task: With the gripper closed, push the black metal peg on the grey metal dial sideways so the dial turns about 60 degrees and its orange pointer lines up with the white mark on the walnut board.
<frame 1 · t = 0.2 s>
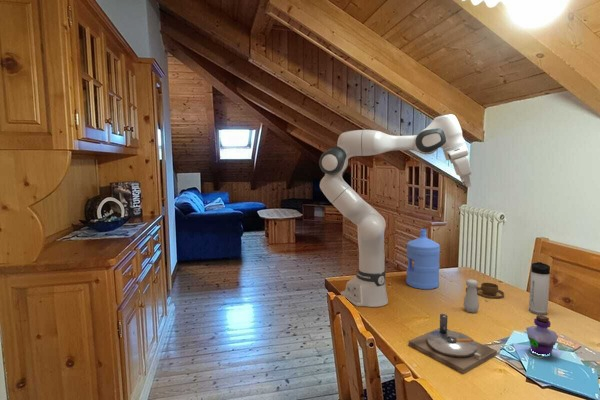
hand: (467, 185, 142), 52 cm above the table, tool tilted 20°, fingers open, 8 cm apart
water jug: (422, 284, 179), on the table
stand: (451, 349, 117), on the table
salt shaker: (470, 311, 147), on the table
potion bottle: (540, 353, 115), on the table
brown cup and saucer: (480, 295, 165), on the table
dial: (451, 334, 116), point 5 cm above the table, hinge at 60.0°
travel mug: (537, 312, 145), on the table
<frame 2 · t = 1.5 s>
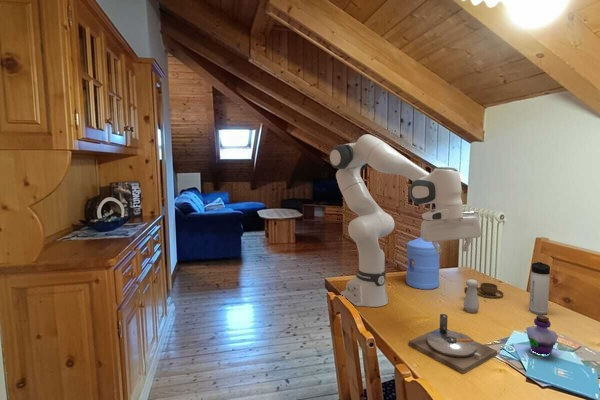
hand: (452, 252, 125), 30 cm above the table, tool pointing down, fingers open, 8 cm apart
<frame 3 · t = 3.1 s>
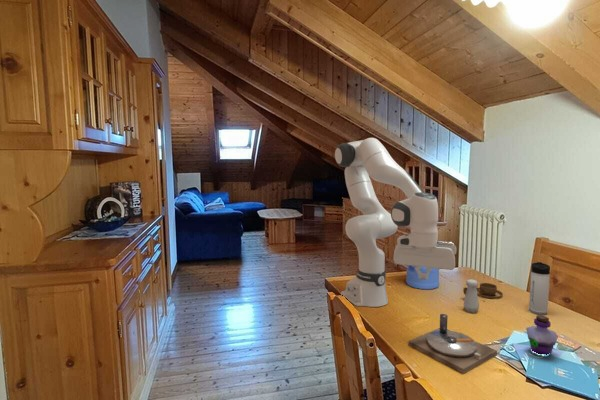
hand: (423, 278, 124), 21 cm above the table, tool pointing down, fingers closed
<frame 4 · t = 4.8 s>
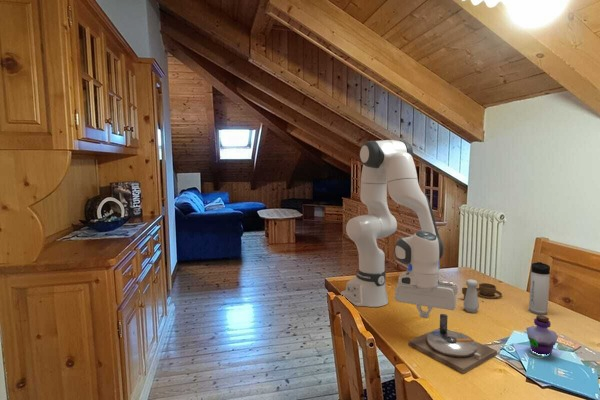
hand: (424, 317, 125), 7 cm above the table, tool pointing down, fingers closed
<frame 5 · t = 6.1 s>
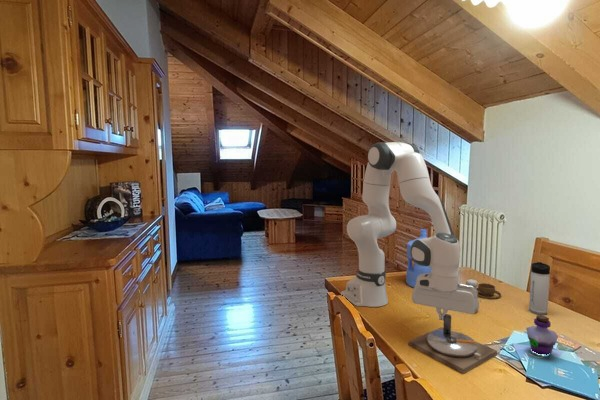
hand: (441, 319, 123), 7 cm above the table, tool pointing down, fingers closed, pressing on dial
dial: (451, 334, 116), point 5 cm above the table, hinge at 47.9°, touching gripper
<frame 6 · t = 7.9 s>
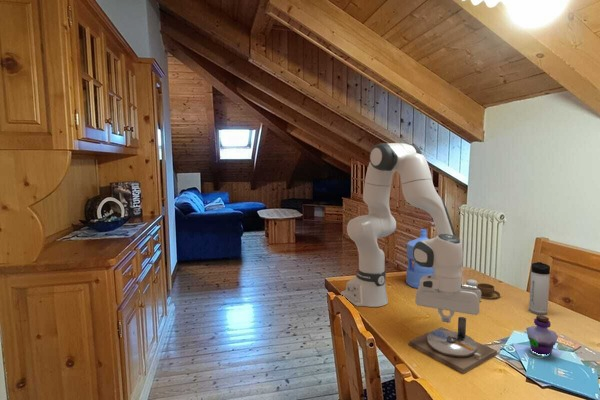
hand: (445, 321, 122), 7 cm above the table, tool pointing down, fingers closed
dial: (451, 334, 116), point 5 cm above the table, hinge at 2.7°
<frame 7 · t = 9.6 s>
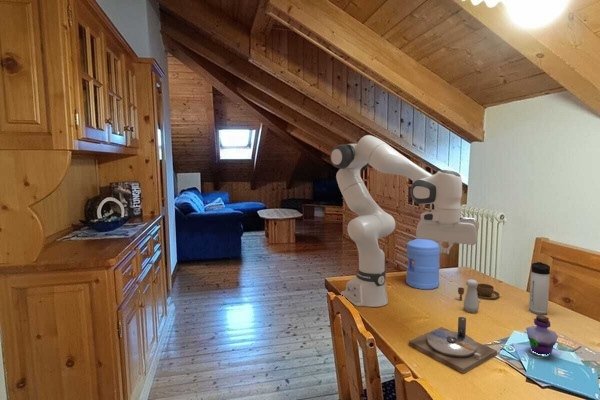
hand: (444, 253, 129), 28 cm above the table, tool pointing down, fingers closed
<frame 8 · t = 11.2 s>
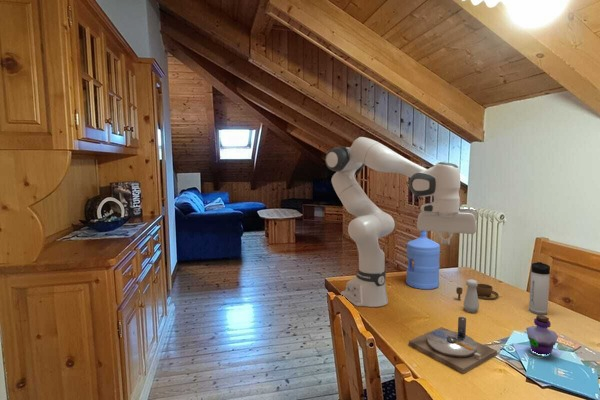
hand: (445, 243, 132), 31 cm above the table, tool pointing down, fingers closed
at the end: dial at +3° (first picture: +60°) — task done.
